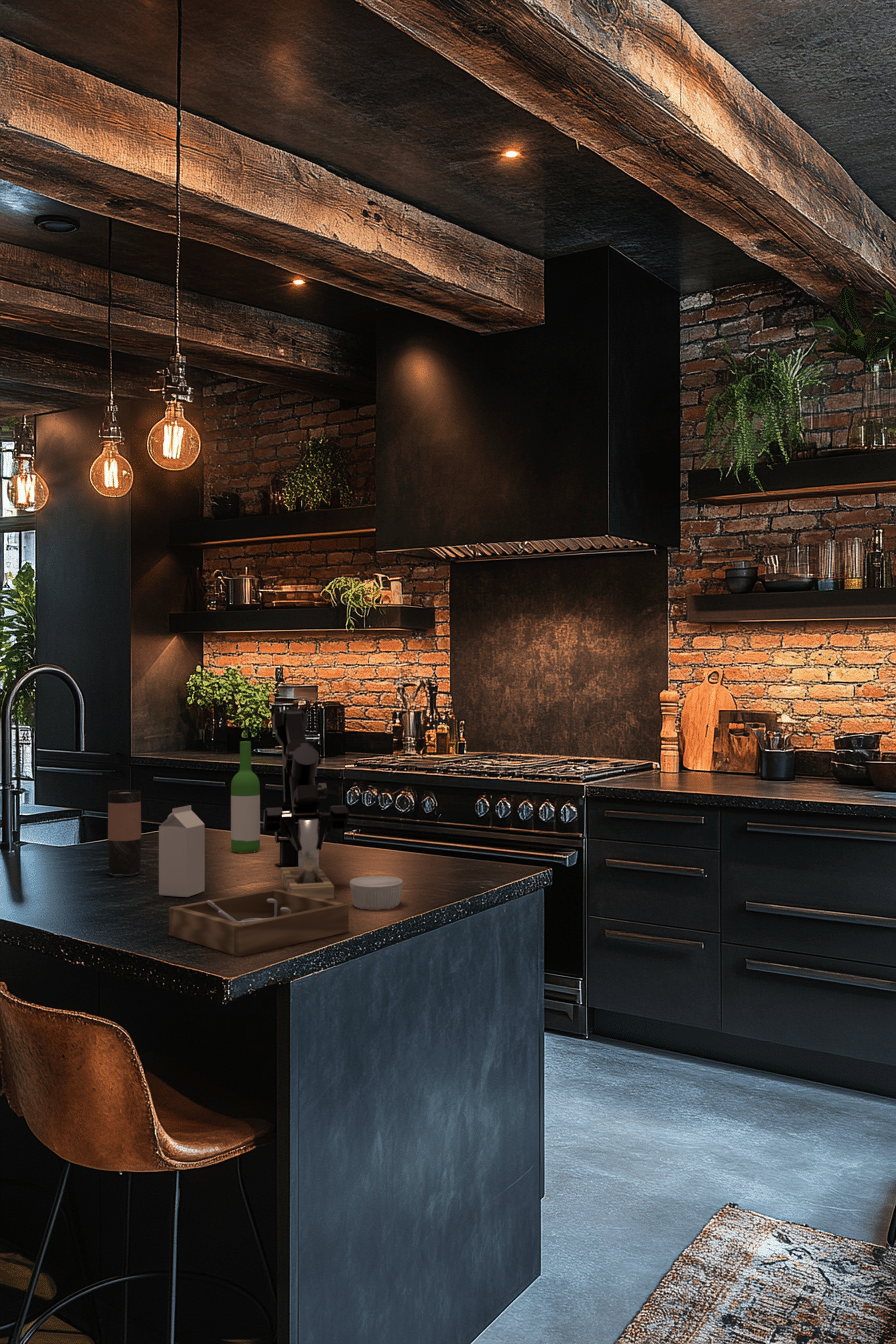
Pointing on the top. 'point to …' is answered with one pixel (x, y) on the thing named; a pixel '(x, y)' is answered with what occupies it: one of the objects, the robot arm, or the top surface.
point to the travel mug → (124, 831)
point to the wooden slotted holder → (310, 889)
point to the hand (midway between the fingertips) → (309, 849)
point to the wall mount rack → (249, 918)
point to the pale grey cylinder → (308, 850)
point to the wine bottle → (245, 805)
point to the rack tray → (238, 939)
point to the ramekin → (376, 892)
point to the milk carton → (181, 854)
